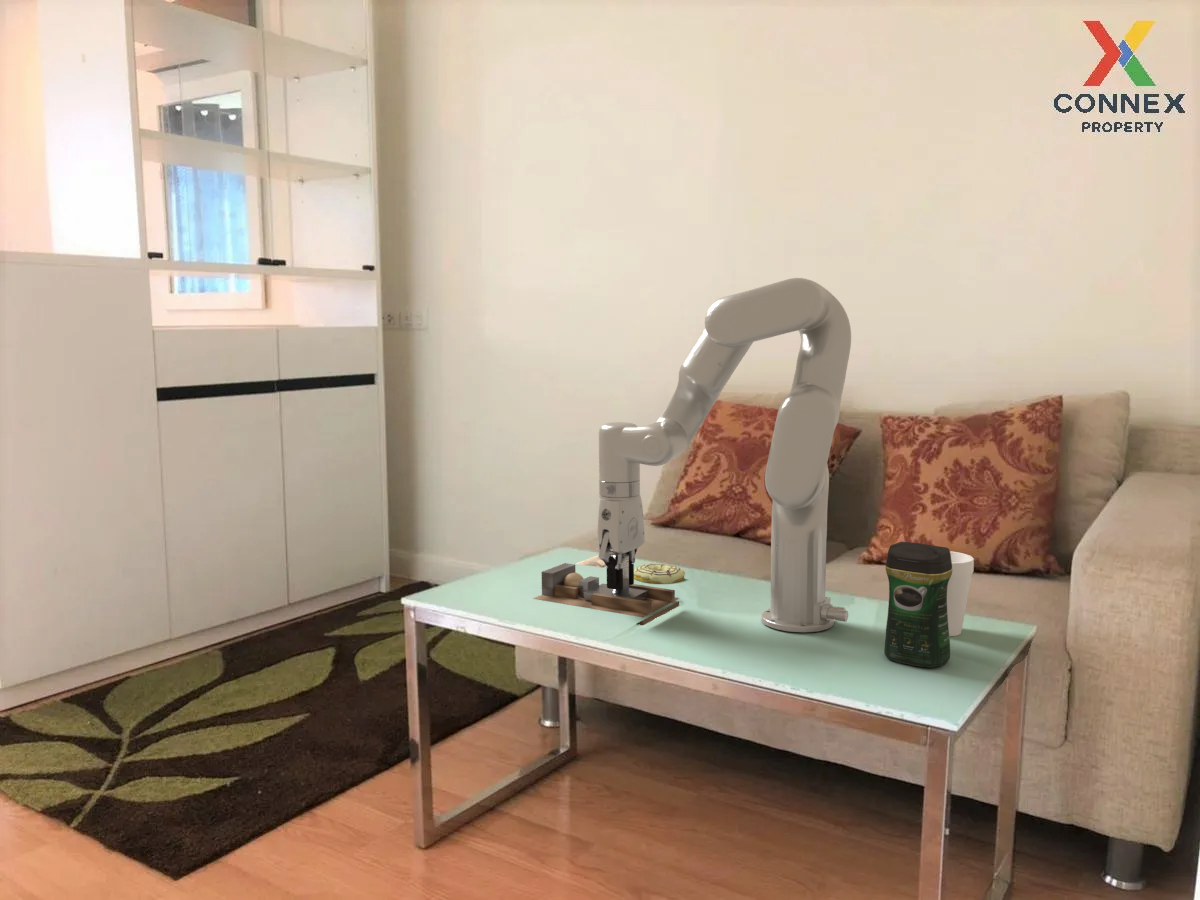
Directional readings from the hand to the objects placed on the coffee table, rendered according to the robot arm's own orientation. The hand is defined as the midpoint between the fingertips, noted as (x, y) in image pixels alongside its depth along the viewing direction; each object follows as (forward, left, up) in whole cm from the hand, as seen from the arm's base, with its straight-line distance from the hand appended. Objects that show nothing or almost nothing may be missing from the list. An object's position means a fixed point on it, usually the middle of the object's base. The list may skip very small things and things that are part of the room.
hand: (620, 585), depth 183 cm
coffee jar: (-55, +1, -5) cm, 55 cm away
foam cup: (-55, -16, -5) cm, 57 cm away
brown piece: (+3, 0, -4) cm, 5 cm away
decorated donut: (+2, -19, -5) cm, 20 cm away
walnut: (+10, 0, -3) cm, 11 cm away
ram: (+2, 0, -3) cm, 3 cm away
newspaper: (+22, -20, -5) cm, 31 cm away
